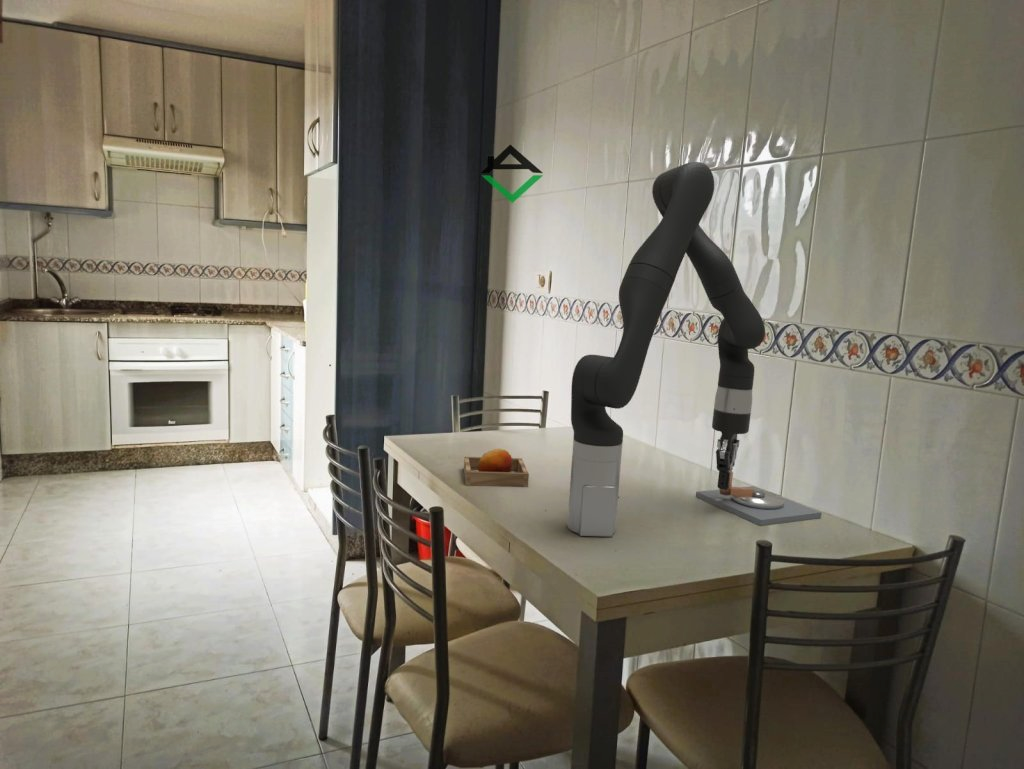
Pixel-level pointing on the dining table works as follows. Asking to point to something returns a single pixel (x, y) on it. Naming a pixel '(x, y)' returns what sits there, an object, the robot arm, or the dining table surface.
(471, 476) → the wooden tray
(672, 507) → the dining table surface
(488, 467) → the fruit
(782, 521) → the plate
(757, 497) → the silver and copper crank
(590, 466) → the robot arm
